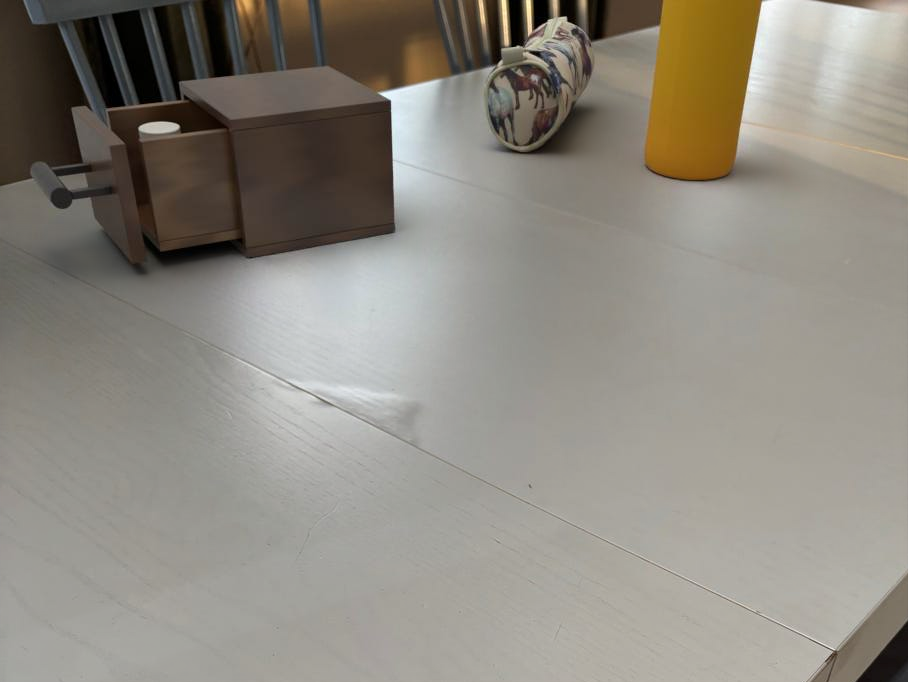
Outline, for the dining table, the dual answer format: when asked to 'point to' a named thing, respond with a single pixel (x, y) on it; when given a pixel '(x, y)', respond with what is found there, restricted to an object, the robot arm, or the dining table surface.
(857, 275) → the dining table surface
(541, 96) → the pencil case
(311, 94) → the cabinet
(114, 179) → the drawer
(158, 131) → the glue stick
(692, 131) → the yellow rounded cylinder
